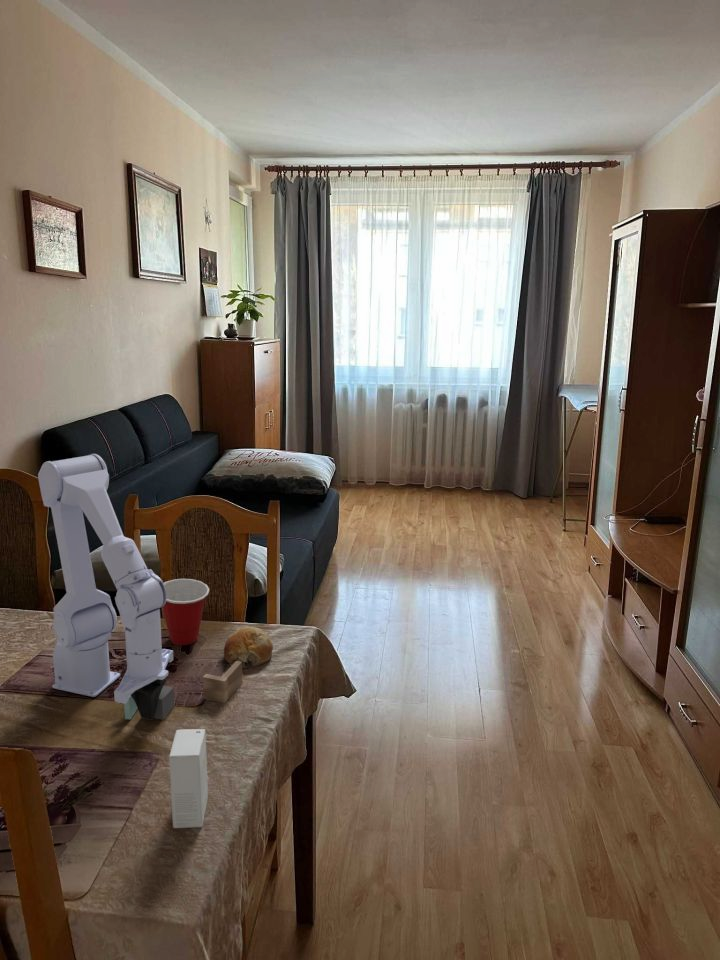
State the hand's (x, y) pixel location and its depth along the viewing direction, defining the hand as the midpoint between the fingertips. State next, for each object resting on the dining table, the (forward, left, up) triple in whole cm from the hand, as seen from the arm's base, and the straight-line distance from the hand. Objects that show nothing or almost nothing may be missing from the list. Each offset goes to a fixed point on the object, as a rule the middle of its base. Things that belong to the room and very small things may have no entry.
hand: (147, 716), depth 116 cm
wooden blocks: (0, +13, -1) cm, 13 cm away
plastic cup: (-9, +28, -1) cm, 29 cm away
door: (-5, +5, -1) cm, 7 cm away
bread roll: (+7, +26, -1) cm, 27 cm away
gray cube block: (0, +3, -1) cm, 4 cm away
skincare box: (+18, -17, -1) cm, 24 cm away
